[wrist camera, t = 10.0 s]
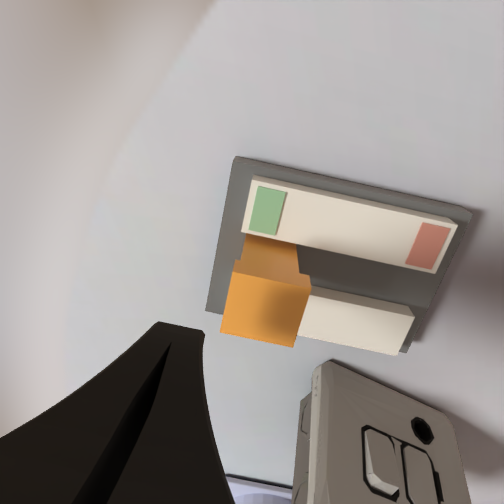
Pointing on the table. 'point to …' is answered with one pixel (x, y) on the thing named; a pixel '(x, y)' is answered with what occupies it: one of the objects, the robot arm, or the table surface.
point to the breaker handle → (266, 292)
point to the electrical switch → (373, 446)
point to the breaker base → (343, 250)
